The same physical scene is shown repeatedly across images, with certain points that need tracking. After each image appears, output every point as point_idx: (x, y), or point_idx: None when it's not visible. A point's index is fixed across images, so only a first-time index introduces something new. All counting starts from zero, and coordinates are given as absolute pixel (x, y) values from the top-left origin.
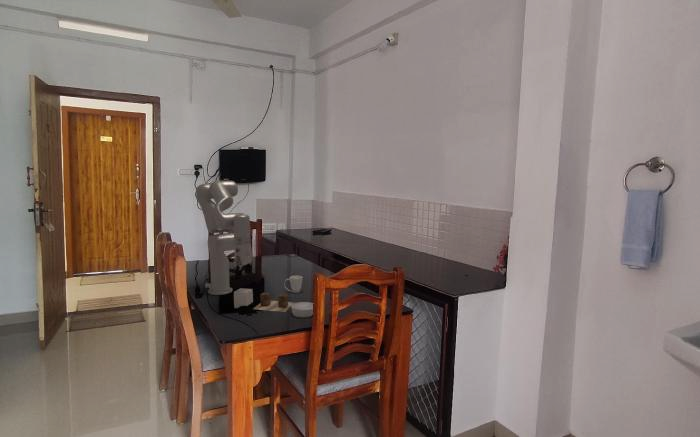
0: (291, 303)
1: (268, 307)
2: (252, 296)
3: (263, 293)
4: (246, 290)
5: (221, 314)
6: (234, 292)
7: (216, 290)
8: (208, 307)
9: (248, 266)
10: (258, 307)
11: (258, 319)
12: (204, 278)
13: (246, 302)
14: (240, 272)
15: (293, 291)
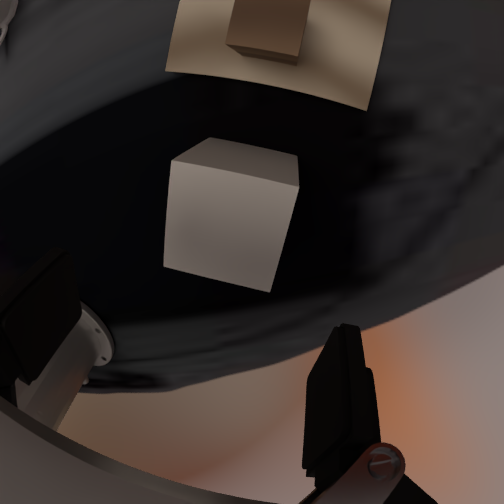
0: None
1: (328, 12)
2: (197, 148)
3: (255, 37)
4: (217, 204)
5: (380, 273)
6: (271, 285)
7: (96, 348)
8: (270, 342)
9: (17, 338)
10: (332, 75)
11: (470, 72)
12: None
13: (296, 167)
14: (360, 405)
15: (9, 17)
